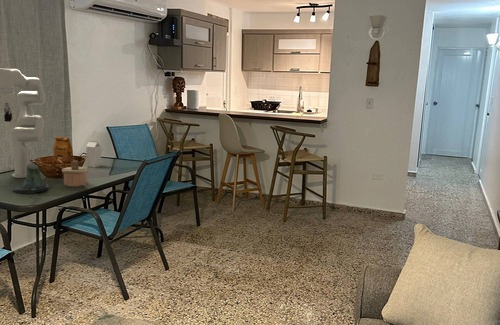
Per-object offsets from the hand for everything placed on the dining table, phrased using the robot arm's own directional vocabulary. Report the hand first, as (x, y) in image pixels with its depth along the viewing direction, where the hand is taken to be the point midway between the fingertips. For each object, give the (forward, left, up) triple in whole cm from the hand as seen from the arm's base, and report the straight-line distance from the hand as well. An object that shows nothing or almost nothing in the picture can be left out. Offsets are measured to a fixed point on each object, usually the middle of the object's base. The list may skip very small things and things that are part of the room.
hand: (8, 120), depth 256 cm
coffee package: (-40, +30, -38) cm, 63 cm away
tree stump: (+17, +11, -39) cm, 43 cm away
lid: (+8, +35, -30) cm, 47 cm away
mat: (-12, +49, -38) cm, 63 cm away
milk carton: (-40, +50, -38) cm, 75 cm away
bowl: (+8, +35, -38) cm, 52 cm away
